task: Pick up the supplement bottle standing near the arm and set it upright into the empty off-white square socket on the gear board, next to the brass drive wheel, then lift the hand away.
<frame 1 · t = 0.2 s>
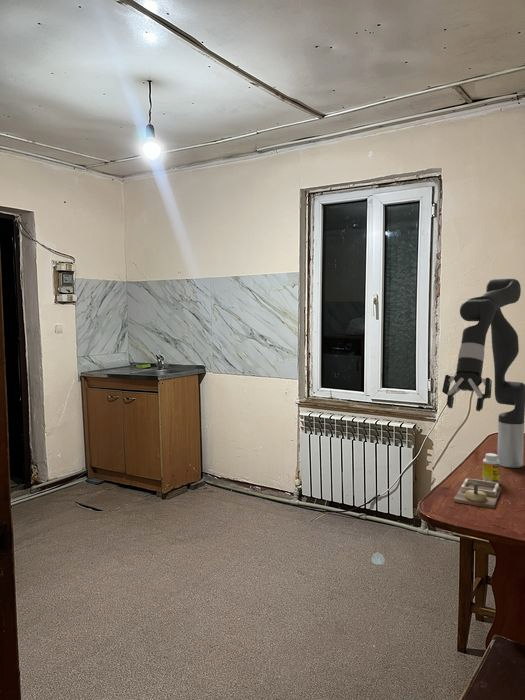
hand: (463, 409, 163), 31 cm above the table, tool tilted 20°, fingers open, 8 cm apart
gear board: (478, 495, 174), on the table
supplement bottle: (490, 483, 187), on the table
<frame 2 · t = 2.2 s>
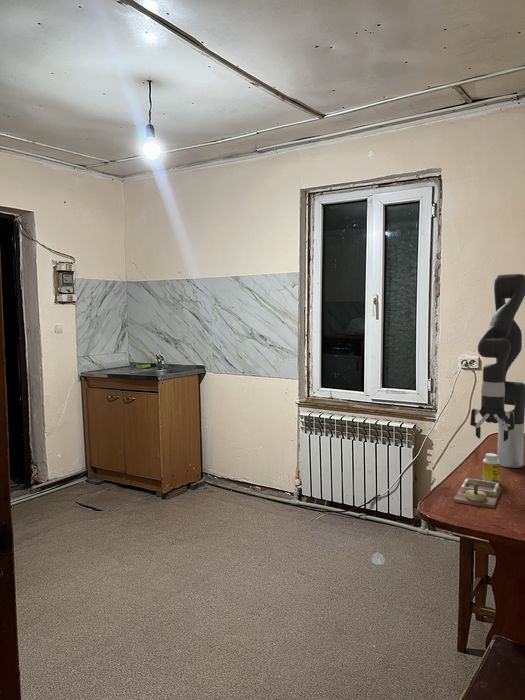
hand: (491, 439, 186), 16 cm above the table, tool pointing down, fingers open, 8 cm apart
nothing on the table moved.
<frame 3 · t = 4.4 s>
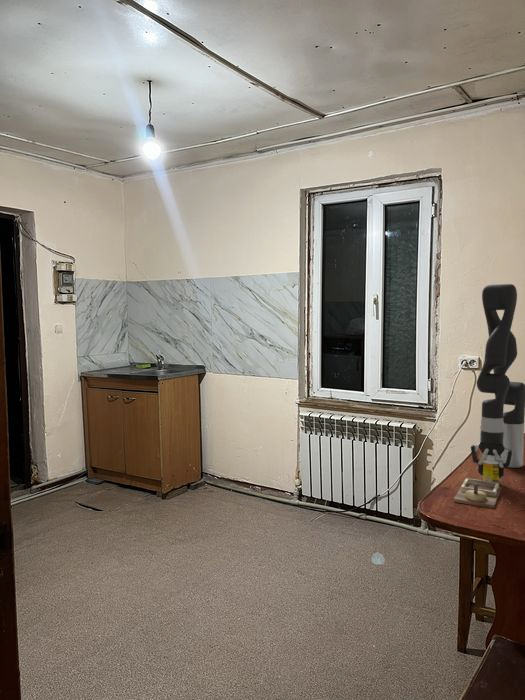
hand: (490, 475, 187), 3 cm above the table, tool pointing down, fingers closed on supplement bottle, 5 cm apart
supplement bottle: (490, 483, 187), on the table, touching gripper
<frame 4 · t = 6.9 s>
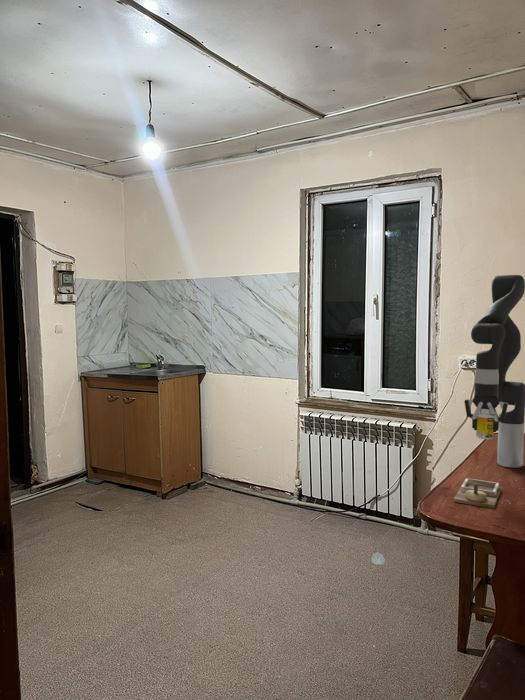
hand: (485, 430, 179), 20 cm above the table, tool pointing down, fingers closed on supplement bottle, 5 cm apart
supplement bottle: (484, 438, 179), point 18 cm above the table, touching gripper
when the fingers open (5 cm above the table, at t = 9.6 s): supplement bottle drops 2 cm, resting on gear board.
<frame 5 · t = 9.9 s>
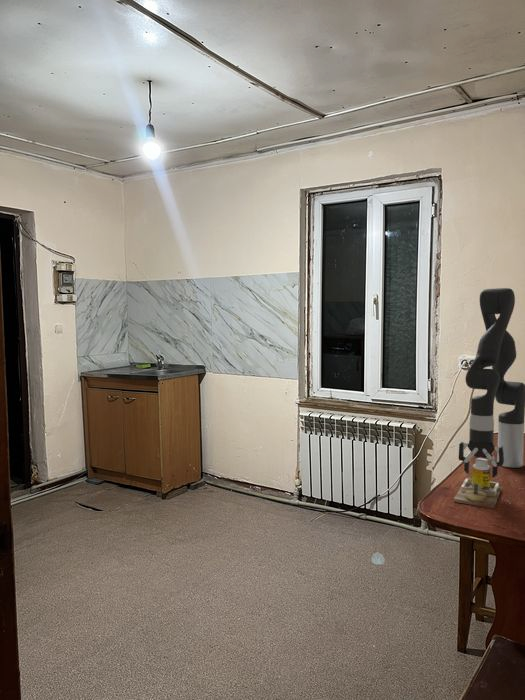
hand: (480, 474, 177), 6 cm above the table, tool pointing down, fingers open, 8 cm apart
supplement bottle: (480, 489, 177), point 1 cm above the table, touching gear board
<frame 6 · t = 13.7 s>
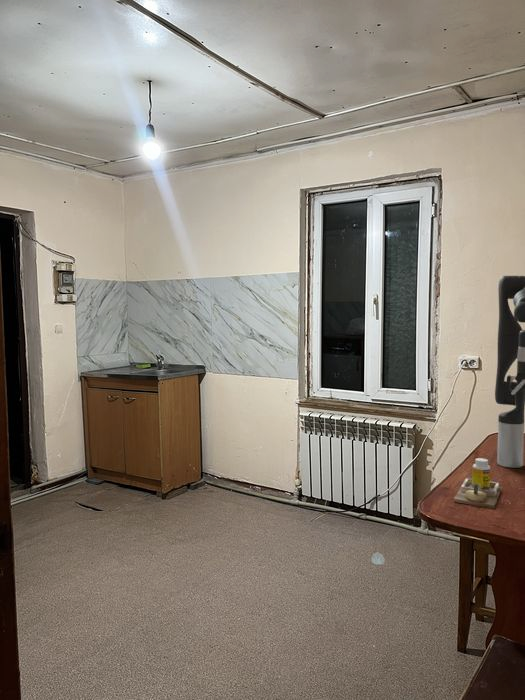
nothing on the table moved.
at the end: supplement bottle 0.2 cm from the target spot on the gear board, point 0.8 cm above the gear board's base; supplement bottle tilted 0°; the gripper is holding nothing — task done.
